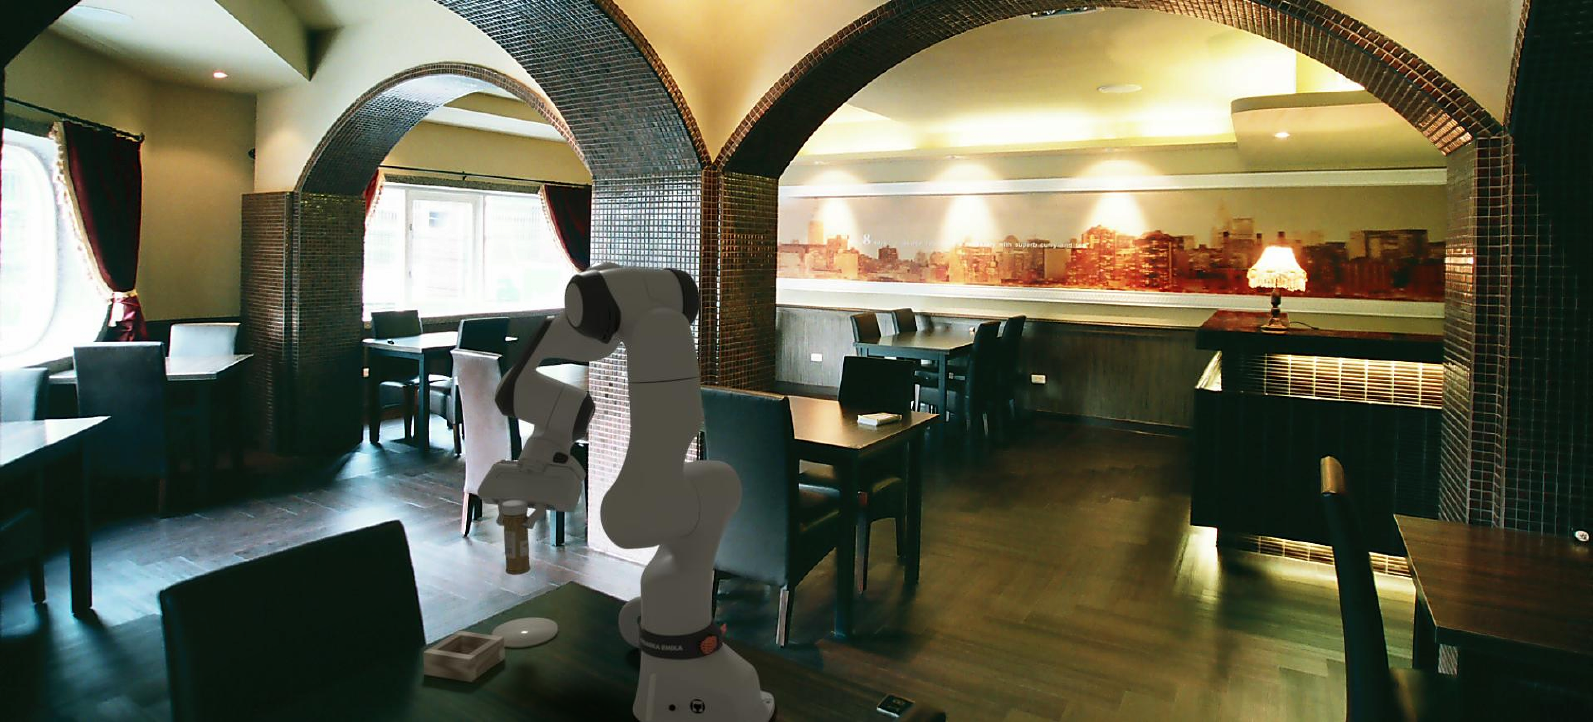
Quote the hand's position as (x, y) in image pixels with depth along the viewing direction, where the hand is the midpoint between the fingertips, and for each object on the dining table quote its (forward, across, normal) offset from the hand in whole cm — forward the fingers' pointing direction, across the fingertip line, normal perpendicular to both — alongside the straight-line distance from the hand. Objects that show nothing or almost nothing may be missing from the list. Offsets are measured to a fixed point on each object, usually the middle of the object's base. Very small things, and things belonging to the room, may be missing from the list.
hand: (513, 526), depth 170 cm
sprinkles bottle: (+6, 0, +7) cm, 9 cm away
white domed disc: (+14, 0, +16) cm, 22 cm away
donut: (+14, +26, +17) cm, 34 cm away
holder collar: (+25, -2, +6) cm, 26 cm away
